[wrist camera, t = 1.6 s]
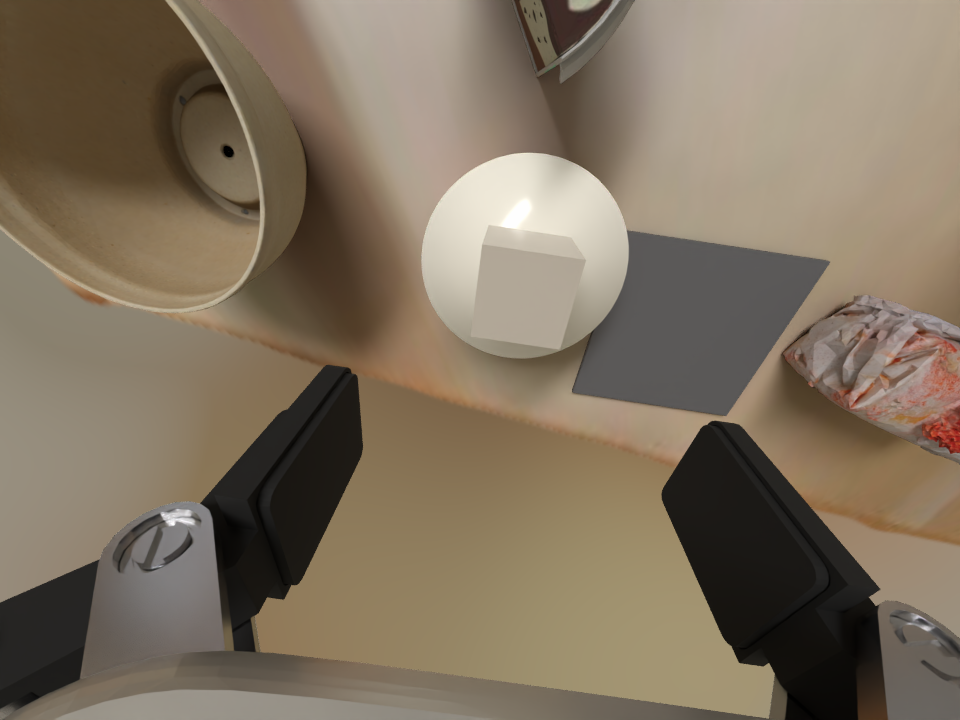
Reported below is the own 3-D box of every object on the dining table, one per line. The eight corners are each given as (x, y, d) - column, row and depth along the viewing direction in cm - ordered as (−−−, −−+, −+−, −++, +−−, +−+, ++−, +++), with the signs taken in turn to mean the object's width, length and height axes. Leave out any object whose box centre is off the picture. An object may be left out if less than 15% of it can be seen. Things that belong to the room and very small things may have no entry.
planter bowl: (392, 224, 27) (327, 264, 17) (233, 284, 30) (111, 343, 21) (262, -66, 19) (24, -271, 10) (72, 63, 23) (-227, 4, 14)
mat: (826, 260, 25) (830, 261, 25) (724, 413, 33) (726, 415, 33) (626, 230, 25) (627, 231, 25) (572, 390, 33) (572, 392, 33)
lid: (659, 170, 19) (710, 177, 14) (589, 364, 26) (607, 415, 21) (428, 136, 19) (399, 131, 14) (420, 339, 26) (399, 383, 21)
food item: (758, 357, 30) (853, 437, 22) (842, 276, 26) (1000, 336, 17) (876, 410, 32) (1006, 504, 23) (972, 343, 28) (1171, 426, 19)
